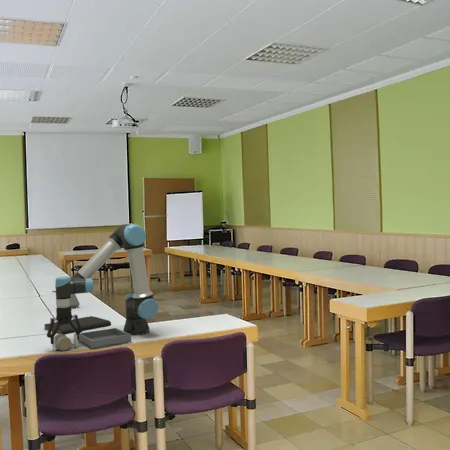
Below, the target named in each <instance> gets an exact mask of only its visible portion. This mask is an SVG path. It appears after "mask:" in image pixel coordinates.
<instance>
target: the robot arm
mask: <svg viewBox="0 0 450 450" xmlns="http://www.w3.org/2000/svg"><path fill="white" fill-rule="evenodd" d="M146 233H147V232H146V231H145V229H144V228H143V227H142V226H141V225H139V224H136V223H125V224H122V225H120V226H119V227H117V228H116V230H114V231H113V232H112V234H111V235H109V237H107V241H106V242H105V243H104V244H103V245H102V246H101V247H100V248H99V249H98V250H97V252H95V253H94V254H93V255H92V257H91V258H89V260H87V261H86V263H84V264H83V265H82V266H81V268H80V269H79V270H78V271H76V273H74V274H73V275H72V276H58V277H56V278H55V283H54V284H55V286H54V287H55V291H56V292H55V305H56V308H55V310H56V313H55V314H56V316H55V317H50V318H49V320H50V321H49V322H50V326H49V329H48V330H47V333H46V337H47V338H49V339H50V344H51V345H52V350H53V351H54V352H56V350H57V348H56V343H55V338H54V337H55V336H56V335H57V333H56V332H57V331H58V329H59V327H60V326H61V325H64V324H69V325H70V326H71V328H72V329H73V330H74V332H75V333H73V339H74V341H73V344H75V345H76V346H75V348H78V340H79V334H80V333H83V331H82V329H81V326H80V324H79V321H78V318H79V316H78V314H74V315H72V309H71V294H75V295H77V294H79V295H80V294H88V293H92V292H93V291H94V288H95V286H94V280H93V279H92V277H93V276H94V275H95V273H96V272H98V270H99V269H101V267H102V266H103V265H104V264H105V263H106V262H107V261H108V260H109V259H110V258H111V257H112V256H113V255H114V254H115V253H116V252H117V251H120V250H121V249H122V248H123V250H124V251H125V252H126V253H127V257H128V263H129V269H130V274H131V279H132V285H133V291H134V293H128V294H126V295H125V323H124V327H123V330H122V331H124V332H126V333H129V334H131V336H135V335H136V334H139V335H143V334H142V333H145V334H147V333H146V332H148V331H149V332H150V326H149V323H148V320H149V319H152V318H154V317H155V316H156V315H157V314H158V311H159V303H158V302H157V300H155V296H154V292H152V291H151V289H150V285H149V278H148V272H147V266H146V262H145V255H144V248H145V245H146V244H145V240H146V237H147V236H146V235H147V234H146ZM71 319H74V320H75V323H76V325H77V328H78V331H77V329H76V328H75V326H74V325H73V324H72V322H71ZM54 322H57V324H56V327H55V328H54V330H53V332H52V329H53V325H54ZM149 332H148V333H149ZM136 336H137V335H136Z"/></svg>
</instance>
